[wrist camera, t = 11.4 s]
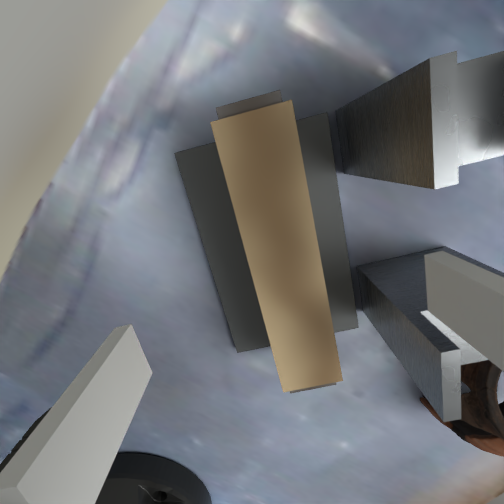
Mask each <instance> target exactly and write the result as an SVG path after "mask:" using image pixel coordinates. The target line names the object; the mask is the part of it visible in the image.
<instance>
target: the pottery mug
mask: <svg viewBox="0 0 504 504" xmlns="http://www.w3.org/2000/svg"><path fill="white" fill-rule="evenodd" d="M501 372H502V370H501V369H500V368H498V367H497V366H496V365H495V364H493V363H492V362H491V361H490V360H485V361H480V362H475V363H470V364H464V365H461V381H462V382H463V383H464V384H466V385H467V386H468V387H469V388H470V389H471V392H468V393H464V394H461V419H459V420H453V421H447V422H443V421H442V419H441V418H440V416H439V415H438V414H437V412H436V411H435V410H434V408H433V407H432V405H431V404H430V403H429V402H428V401H427V400H426V399H425V398H423V397H422V398H420V401H421V402H422V403H423V405H424V406H425V407H426V408H427V409H428V410H429V411H430V412H431V413H432V415H433V416H434V417H435V418H437V419H438V420H439V421H440V422H441V423H442V424H444V425H445V426H447V427H448V428H450V429H451V430H452V431H453V432H455V433H456V434H457V435H458V436H459V437H461V439H463V440H464V441H466V442H468V443H471V444H472V445H474V446H475V447H477V448H479V449H481V450H483V451H486V452H490V453H493V454H495V455H499V456H504V402H502V403H500V404H499V405H498V401H497V393H496V392H497V383H498V380H499V377H500V374H501Z"/></svg>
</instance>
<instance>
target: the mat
mask: <svg viewBox="0 0 504 504" xmlns="http://www.w3.org/2000/svg"><path fill="white" fill-rule="evenodd" d="M296 125H297V131H298V136H299V142H300V147H301V153H302V158H303V164H304V169H305V175H306V180H307V186H308V191H309V197H310V202H311V208H312V213H313V219H314V224H315V230H316V235H317V241H318V246H319V252H320V257H321V263H322V268H323V274H324V279H325V285H326V290H327V296H328V302H329V307H330V313H331V318H332V324H333V329H334V333H335V332H340V331H345V330H350V329H355V328H359V327H358V320H357V313H356V306H355V299H354V293H353V286H352V279H351V272H350V265H349V258H348V251H347V245H346V238H345V231H344V224H343V217H342V210H341V203H340V197H339V190H338V183H337V176H336V169H335V162H334V155H333V148H332V142H331V135H330V128H329V121H328V114H327V112H326V113H322V114H319V115H315V116H311V117H307V118H304V119H300V120H296ZM174 154H175V157H176V160H177V163H178V166H179V170H180V173H181V176H182V179H183V182H184V185H185V189H186V192H187V195H188V198H189V201H190V204H191V208H192V211H193V214H194V217H195V220H196V223H197V226H198V230H199V233H200V236H201V239H202V242H203V245H204V249H205V252H206V255H207V258H208V261H209V264H210V268H211V271H212V274H213V277H214V280H215V283H216V287H217V290H218V293H219V296H220V299H221V302H222V306H223V309H224V312H225V315H226V318H227V321H228V325H229V328H230V331H231V334H232V337H233V340H234V344H235V347H236V350H237V353H239V352H244V351H249V350H253V349H258V348H263V347H268V346H271V345H270V341H269V337H268V334H267V330H266V326H265V323H264V319H263V315H262V312H261V308H260V304H259V301H258V297H257V293H256V289H255V286H254V282H253V278H252V275H251V271H250V267H249V264H248V260H247V256H246V252H245V249H244V245H243V241H242V238H241V234H240V230H239V227H238V223H237V219H236V215H235V212H234V208H233V204H232V201H231V197H230V193H229V190H228V186H227V182H226V179H225V175H224V171H223V167H222V164H221V160H220V156H219V153H218V149H217V145H216V142H214V143H210V144H206V145H203V146H199V147H195V148H191V149H188V150H184V151H180V152H177V153H174Z"/></svg>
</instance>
